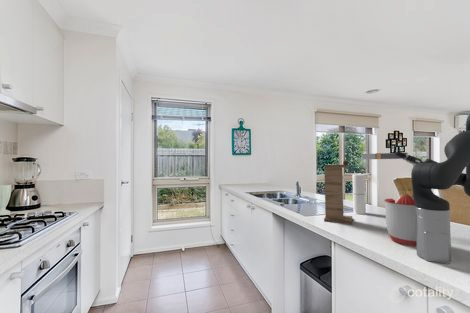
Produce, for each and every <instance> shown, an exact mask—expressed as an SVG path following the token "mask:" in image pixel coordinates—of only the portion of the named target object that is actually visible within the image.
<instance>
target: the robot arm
mask: <svg viewBox="0 0 470 313" xmlns="http://www.w3.org/2000/svg"><path fill="white" fill-rule="evenodd" d="M443 149H444V150H443V151H444V155H445V157H446V160H445V161H442V162H437V161H435V160H434V159H430V158H426V159H425V160H424V161H423V160H422V158H420V157H416V156H413V155H411V154H404V153H405V152H401V151H400V150H399V151H395V153H396V155H397V156H399V157H402V158H404V159H402V160H403V161H405V162H407V163H409V164H411V165H412V166H413V167H412V169H411V175H410V176H411V187H412V188H411V189H412V199H414V201H415V217H416V246H415V247H416V255H417V256H418V257H419V258H421V259H424V260H425V261H427V262H429V261H430V262H434V263H442V264H448V265H449V264H450V263H451V262H452V242H451V240H452V238H451V206H450V202H449V201H448V200H446V199H444V198H442V197H440V196H438V195H437V194H435V192H433V190H440V191H441V190H448V189H450V188H452V187H453V186H456V185H458V186H461V187H463V191H464V193H465V194H466V196H468V197H470V113H469V114H468V115H467V118H466V122H465V131H462V132H459V133H457V134H456V135H454V136H453V137H452V138H450V140H449V141H448V142H447V143H446V144H445V146H444V148H443ZM464 170H465V173H464Z"/></svg>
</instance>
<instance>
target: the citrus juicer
mask: <svg viewBox="0 0 470 313" xmlns="http://www.w3.org/2000/svg"><path fill="white" fill-rule="evenodd" d="M384 202H385V203H384V204H385V224H386V229H387V232H388V236H389V237H390V239H391V241H394V242H395V243H399V245H407V246H413V247H417V246H416V217H415V201H414V199H413V197H411V196H410V195H409V194H407V193H405V194H403V195H402V196H401V197H400V198H399V199H398V200H397V201H396V200H395V199H394V198H385V199H384Z"/></svg>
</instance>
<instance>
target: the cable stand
mask: <svg viewBox="0 0 470 313" xmlns="http://www.w3.org/2000/svg"><path fill="white" fill-rule="evenodd" d="M349 167H350V164H349V161H348V160H345V161H343V163H342V164H325V165H324V168H323V169H324V204H325V205H324V206H325V207H324V208H325V209H324V210H325V214H324V215H325V217H324V218H323V221H324V222H326V223H327V222H328V223H334V224H335V223H337V224H346V225H353V216H352V215H344V184H343V183H344V182H343V178H344V177H343V176H344V175H343V168H345V169H346V168H347V169H348V168H349Z"/></svg>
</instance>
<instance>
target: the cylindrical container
mask: <svg viewBox="0 0 470 313" xmlns="http://www.w3.org/2000/svg"><path fill="white" fill-rule="evenodd" d="M351 177H352V205H353V206H352V208H353V212H352V213H354V214H355V213H356V214H357V215H366V214H367V209H366V206H367V205H366V200H367V199H366V175H365V174H364V173H363V174H361V173H358V174H355V173H354V174H352V176H351ZM356 214H355V215H356Z"/></svg>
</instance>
